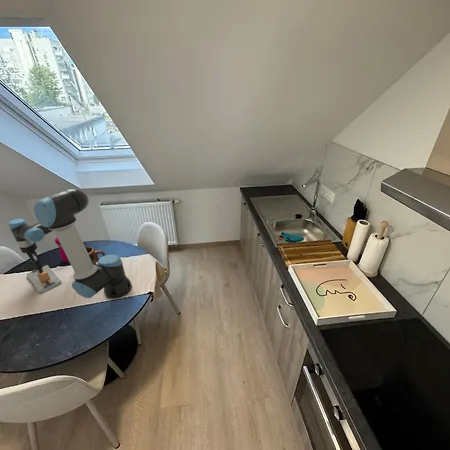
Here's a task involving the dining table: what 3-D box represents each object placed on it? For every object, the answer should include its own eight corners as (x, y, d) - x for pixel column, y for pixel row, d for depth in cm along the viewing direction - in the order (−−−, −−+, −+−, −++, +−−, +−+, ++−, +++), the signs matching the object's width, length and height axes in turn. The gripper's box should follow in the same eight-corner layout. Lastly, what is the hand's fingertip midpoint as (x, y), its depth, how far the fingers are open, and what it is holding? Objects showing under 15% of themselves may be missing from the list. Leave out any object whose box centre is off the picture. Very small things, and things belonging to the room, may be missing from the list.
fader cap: (50, 278, 155) (47, 272, 153) (41, 282, 152) (37, 276, 149) (48, 276, 157) (45, 270, 154) (39, 280, 153) (36, 274, 151)
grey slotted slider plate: (61, 283, 154) (60, 280, 153) (39, 294, 147) (38, 290, 145) (48, 267, 168) (46, 264, 167) (27, 276, 160) (25, 273, 159)
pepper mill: (68, 263, 172) (58, 238, 162) (59, 261, 173) (49, 237, 163) (76, 256, 178) (66, 233, 168) (67, 255, 179) (57, 232, 169)
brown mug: (107, 258, 176) (102, 242, 169) (108, 268, 166) (102, 251, 159) (75, 266, 169) (69, 249, 162) (74, 277, 159) (67, 259, 152)
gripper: (38, 245, 142) (53, 277, 154) (31, 237, 150) (45, 268, 161) (22, 251, 137) (39, 283, 149) (16, 243, 145) (32, 274, 157)
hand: (42, 275), depth 155 cm, fingers closed
